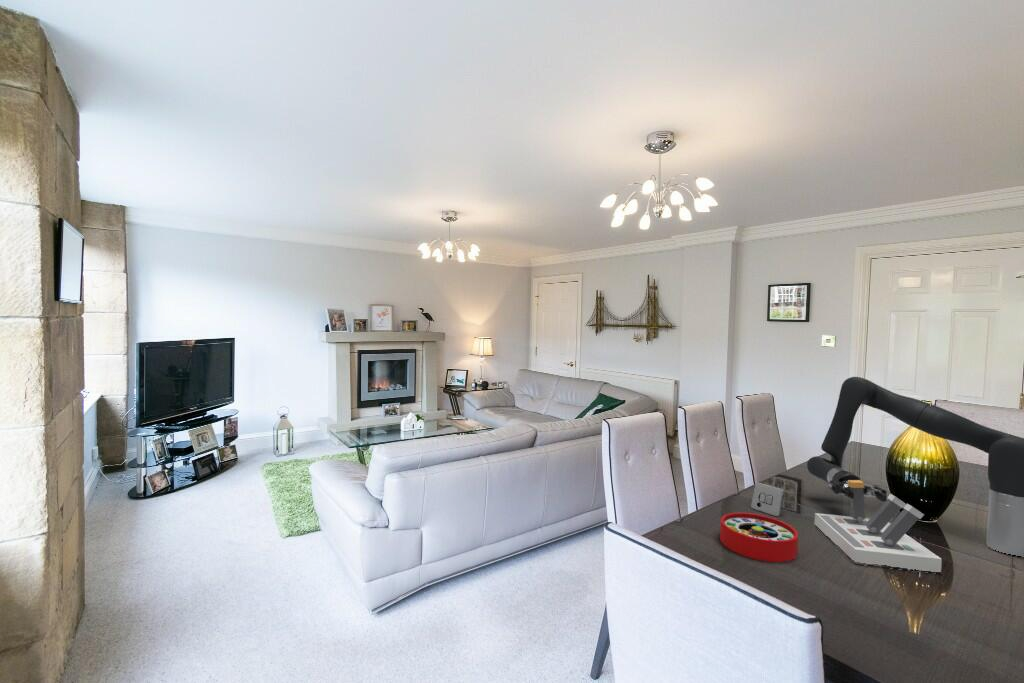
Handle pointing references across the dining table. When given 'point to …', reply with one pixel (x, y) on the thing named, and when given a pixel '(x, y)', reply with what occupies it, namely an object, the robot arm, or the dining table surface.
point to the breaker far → (901, 525)
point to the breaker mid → (884, 514)
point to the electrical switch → (767, 499)
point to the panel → (875, 544)
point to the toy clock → (759, 537)
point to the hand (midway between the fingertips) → (868, 497)
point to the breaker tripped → (857, 500)
